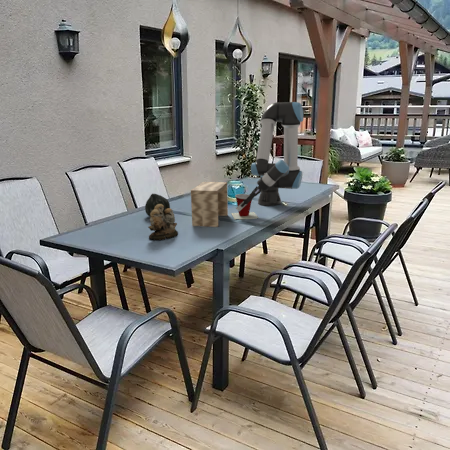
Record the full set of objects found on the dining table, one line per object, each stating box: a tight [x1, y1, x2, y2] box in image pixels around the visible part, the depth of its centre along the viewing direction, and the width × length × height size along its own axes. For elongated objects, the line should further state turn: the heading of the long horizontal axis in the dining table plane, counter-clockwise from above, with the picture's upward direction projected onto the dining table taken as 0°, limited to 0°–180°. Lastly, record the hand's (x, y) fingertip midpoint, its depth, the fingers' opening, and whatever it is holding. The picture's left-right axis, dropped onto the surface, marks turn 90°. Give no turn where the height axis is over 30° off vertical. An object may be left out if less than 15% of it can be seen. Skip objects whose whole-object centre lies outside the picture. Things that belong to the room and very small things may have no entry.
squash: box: [144, 193, 171, 218], centre depth 266 cm, size 14×15×15 cm
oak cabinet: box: [190, 181, 229, 228], centre depth 254 cm, size 14×26×20 cm, turn 167°
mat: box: [231, 211, 259, 221], centre depth 264 cm, size 14×14×1 cm
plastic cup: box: [235, 193, 253, 216], centre depth 263 cm, size 11×11×12 cm
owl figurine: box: [147, 204, 179, 241], centre depth 226 cm, size 18×12×17 cm, turn 144°
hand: (239, 207), depth 264 cm, fingers closed on plastic cup, 10 cm apart
